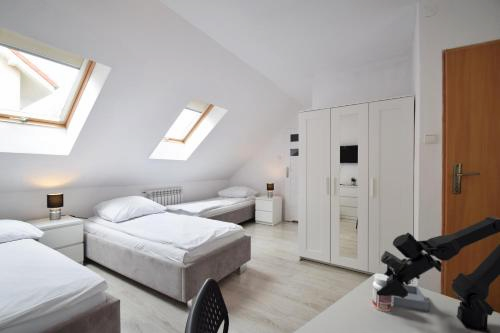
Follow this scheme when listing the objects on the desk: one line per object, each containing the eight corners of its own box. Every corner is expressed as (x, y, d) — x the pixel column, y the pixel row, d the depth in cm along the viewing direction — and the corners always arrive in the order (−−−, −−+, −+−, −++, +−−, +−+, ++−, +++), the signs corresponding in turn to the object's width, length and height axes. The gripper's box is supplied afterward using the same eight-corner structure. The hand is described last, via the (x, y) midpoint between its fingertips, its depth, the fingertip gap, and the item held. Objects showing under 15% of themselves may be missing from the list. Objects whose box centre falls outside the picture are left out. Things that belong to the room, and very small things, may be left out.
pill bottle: (394, 308, 88) (395, 278, 88) (385, 314, 85) (386, 283, 84) (377, 300, 94) (378, 271, 93) (368, 305, 90) (369, 275, 90)
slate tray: (417, 294, 97) (417, 286, 97) (428, 312, 87) (429, 302, 86) (386, 290, 100) (386, 281, 100) (393, 306, 90) (393, 296, 90)
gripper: (396, 239, 94) (363, 260, 100) (397, 255, 78) (358, 279, 84) (419, 263, 91) (384, 284, 97) (426, 286, 75) (383, 309, 81)
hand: (377, 288), depth 90 cm, fingers open, 9 cm apart
